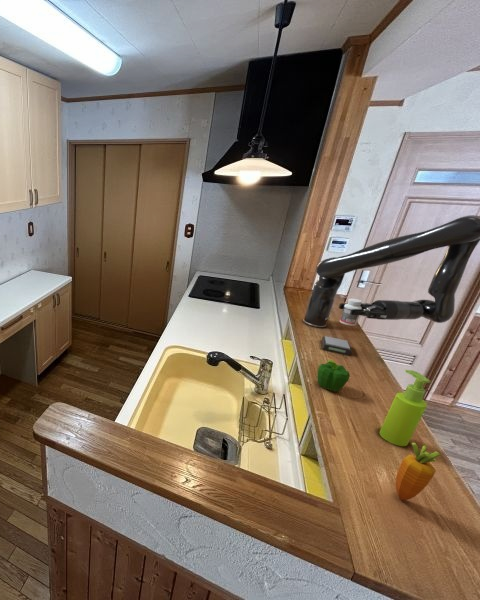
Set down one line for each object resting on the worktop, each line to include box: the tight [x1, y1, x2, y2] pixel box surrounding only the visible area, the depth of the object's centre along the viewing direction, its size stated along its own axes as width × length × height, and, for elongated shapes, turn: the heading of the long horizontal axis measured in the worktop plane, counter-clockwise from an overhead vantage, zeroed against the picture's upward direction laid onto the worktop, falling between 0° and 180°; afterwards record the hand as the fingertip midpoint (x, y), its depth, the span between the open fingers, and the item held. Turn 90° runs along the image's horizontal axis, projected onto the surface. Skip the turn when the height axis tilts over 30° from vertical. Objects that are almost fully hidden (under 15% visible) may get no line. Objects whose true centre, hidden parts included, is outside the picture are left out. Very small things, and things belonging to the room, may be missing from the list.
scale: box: [320, 335, 352, 357], centre depth 136 cm, size 9×9×3 cm
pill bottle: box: [339, 298, 363, 327], centre depth 126 cm, size 5×5×10 cm
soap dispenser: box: [379, 369, 431, 447], centre depth 86 cm, size 6×7×20 cm
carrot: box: [395, 442, 441, 501], centre depth 69 cm, size 5×5×15 cm
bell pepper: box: [316, 359, 350, 392], centre depth 109 cm, size 8×8×10 cm
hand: (345, 309), depth 126 cm, fingers closed on pill bottle, 5 cm apart
